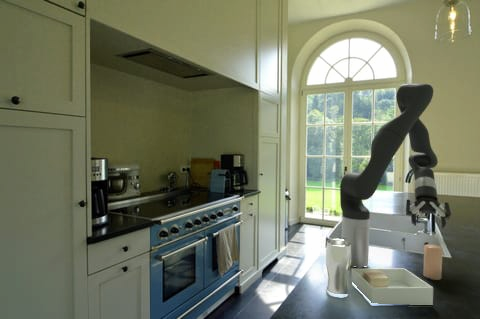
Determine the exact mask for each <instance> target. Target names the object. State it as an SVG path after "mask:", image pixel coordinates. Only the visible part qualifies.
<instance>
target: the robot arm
mask: <svg viewBox="0 0 480 319" xmlns="http://www.w3.org/2000/svg"><path fill="white" fill-rule="evenodd" d="M433 96H434V87H433V86H432V85H431V84H428V83H404V84H401V85H400V86H399V88H398V89H397V92H396V96H395V97H396V104H397V106H398V109H399V111H400V113H399V114H398V115H397V116H395V117H393V118H391V119H390V120H388V121H387V122H385V123H384V124H383V125H381V127H380V128H379V129H378V131H377V133H376V134H375V136H374V138H372V141H371V144H370V158H369V161H368V163H367V164H366V166H365V168H364V170H363V171H362V172H361V173H359V172H348V173H346V174H344V175H343V176H342V178H341V181H340V187H339V195H340V196H339V197H340V198H339V199H340V204H339V205H340V209H341V211H342V212H341V213H342V218H341V219H342V220H341V222H342V224H341V225H342V226H341V227H342V228H341V240H345V241H348V242H350V243H351V266H356V267H364V266H367V265H368V266H369V251H370V250H369V248H370V217H371V216H370V214H371V213H370V212H371V211H370V210H369V209H368V208H367V207H366V206H365V204H364V203H363V201H366V200H369V199H370V198H372V197H373V195H374V194H375V192H376V190H377V188H378V187H379V185H380V182H381V180H382V178H383V176H384V174H385V173H386V170H387V168H388V167H389V165H390V164H391V162H392V160H393V158H394V156H395V155H396V153H397V152H398V150H399V149H400V147H401V146H402V144H403V143H404V141H405V140H406V137H407V136H408V137H409V144H410V148H411V150H412V152H414V153H411V154H410V155H409V156H408V165H409V166H410V168H411V170H412V173H413V177H414V178H413V179H414V186H413V187H414V188H413V189H414V190H413V192H414V201H411V200H410V199H406V203H405V206H406V207H405V216H409V217H410V219H411V224H412V225H413V226H415V227H417V216H418V215H419V214H420V213H422V214H430V215H432V214H433V215H434V216H435V217H437V218H438V219H439V224H440V226H439V227H440V229H444V228H445V227H446V224H447V222H446V220H450V219H451V216H452V213H451V209H450V205H449V204H450V203H449V202H446V201H445V202H444V203H440V202H439V198H438V191H437V190H438V189H437V184H436V180H435V179H436V178H435V173H434V170H432V169H434V168H436V167H437V165H438V162H439V161H438V156H437V155H436V153H435V152H434V150H433V148H432V146H431V140H430V133H429V130H428V128H427V127H426V125H425V124H424V123H423V121H422V120H421V119H420V118H421V116H422V114H423V113H424V112H425V111H426V109H427V108H428V107H429V105H430V103H431V102H432V99H433ZM412 206H414V207H415V208H414V209H413V210H411V207H412ZM440 208H441V209H440ZM443 211H444V212H443ZM368 266H367V267H368Z"/></svg>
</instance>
